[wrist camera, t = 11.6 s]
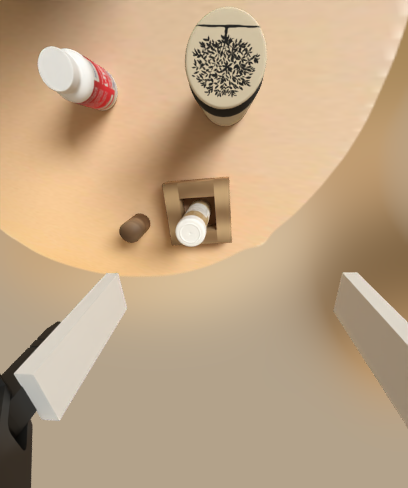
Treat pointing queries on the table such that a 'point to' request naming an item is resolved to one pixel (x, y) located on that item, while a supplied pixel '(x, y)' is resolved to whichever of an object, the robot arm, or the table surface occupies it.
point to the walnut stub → (134, 228)
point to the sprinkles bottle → (194, 224)
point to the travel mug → (226, 63)
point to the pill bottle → (77, 78)
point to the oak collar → (194, 189)
